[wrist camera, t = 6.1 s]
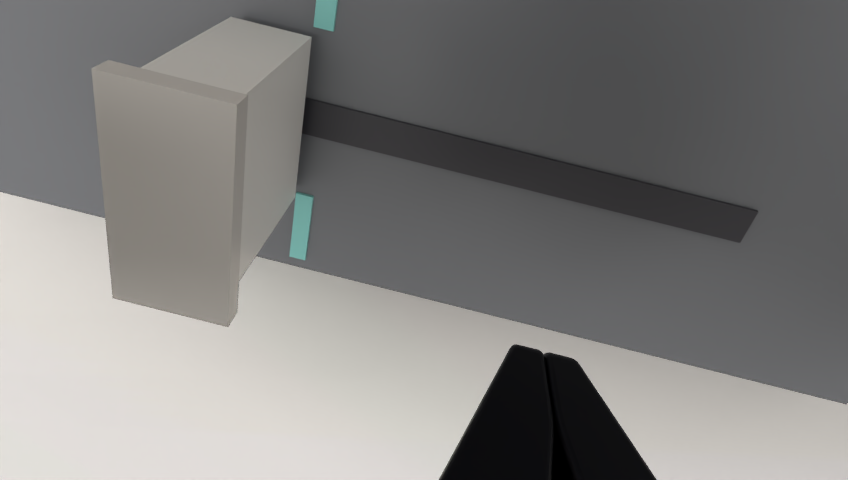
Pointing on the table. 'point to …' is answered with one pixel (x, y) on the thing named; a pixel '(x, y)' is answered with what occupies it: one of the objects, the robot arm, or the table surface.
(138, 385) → the table surface
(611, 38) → the console
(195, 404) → the table surface
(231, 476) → the table surface
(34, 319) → the table surface
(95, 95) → the fader
